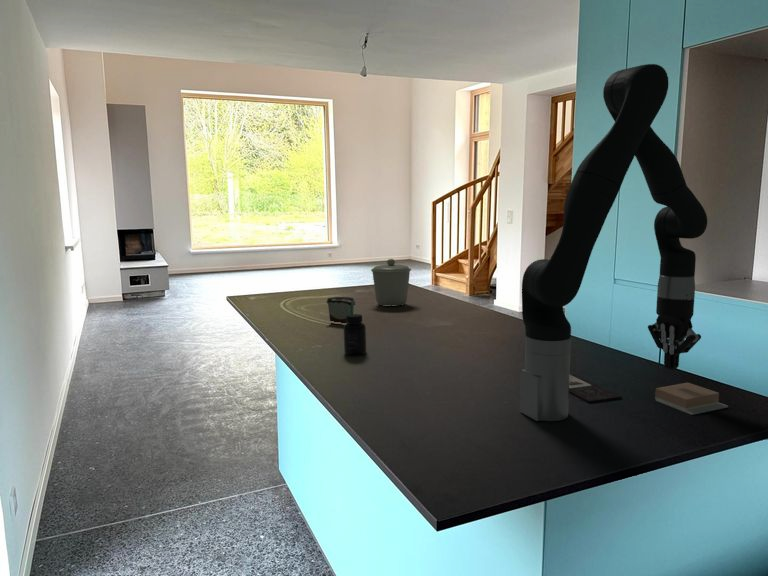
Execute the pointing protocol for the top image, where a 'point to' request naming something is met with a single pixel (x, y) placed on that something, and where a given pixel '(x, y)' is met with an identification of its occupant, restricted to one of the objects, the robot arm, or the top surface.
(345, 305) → the food container
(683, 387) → the tile
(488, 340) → the top surface
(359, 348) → the supplement bottle
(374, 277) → the canister
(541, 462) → the top surface
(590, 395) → the chocolate bar
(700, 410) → the mat
